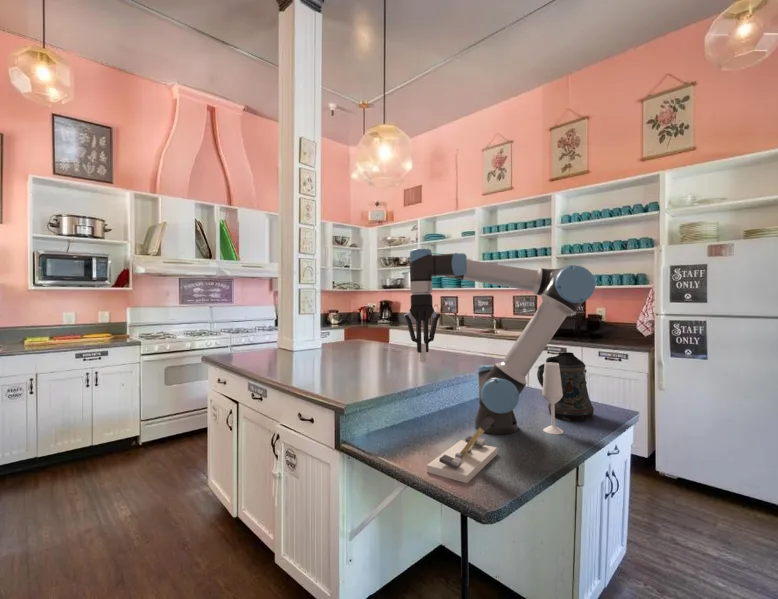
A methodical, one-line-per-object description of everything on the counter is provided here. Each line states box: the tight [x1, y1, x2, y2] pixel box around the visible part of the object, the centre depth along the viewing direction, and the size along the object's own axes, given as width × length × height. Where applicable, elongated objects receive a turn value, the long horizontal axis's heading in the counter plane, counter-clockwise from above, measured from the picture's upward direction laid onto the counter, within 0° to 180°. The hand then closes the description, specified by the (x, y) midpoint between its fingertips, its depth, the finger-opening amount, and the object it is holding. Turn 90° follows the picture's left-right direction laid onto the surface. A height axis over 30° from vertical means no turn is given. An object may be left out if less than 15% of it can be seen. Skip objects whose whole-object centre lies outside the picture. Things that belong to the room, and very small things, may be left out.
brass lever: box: [460, 416, 495, 457], centre depth 111 cm, size 4×2×14 cm
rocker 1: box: [439, 455, 462, 469], centre depth 106 cm, size 3×5×2 cm, turn 54°
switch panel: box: [426, 439, 498, 484], centre depth 113 cm, size 22×12×4 cm, turn 144°
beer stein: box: [536, 351, 595, 423], centre depth 154 cm, size 16×19×25 cm
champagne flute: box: [541, 362, 564, 435], centre depth 137 cm, size 7×7×24 cm
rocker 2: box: [464, 435, 486, 448], centre depth 120 cm, size 3×5×2 cm, turn 54°
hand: (423, 361), depth 134 cm, fingers closed
